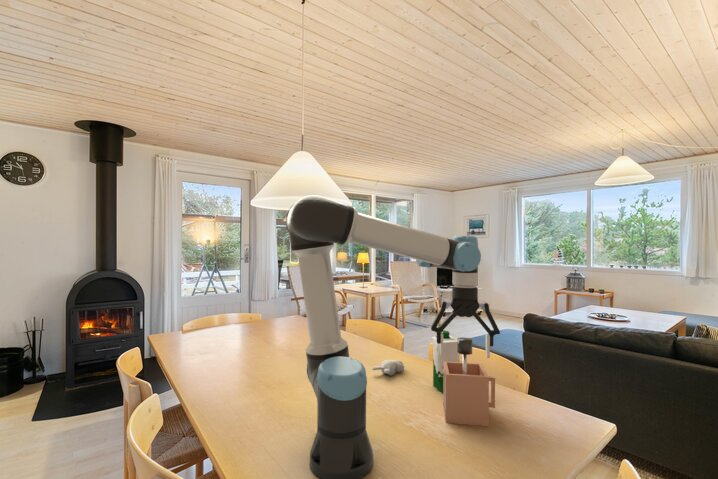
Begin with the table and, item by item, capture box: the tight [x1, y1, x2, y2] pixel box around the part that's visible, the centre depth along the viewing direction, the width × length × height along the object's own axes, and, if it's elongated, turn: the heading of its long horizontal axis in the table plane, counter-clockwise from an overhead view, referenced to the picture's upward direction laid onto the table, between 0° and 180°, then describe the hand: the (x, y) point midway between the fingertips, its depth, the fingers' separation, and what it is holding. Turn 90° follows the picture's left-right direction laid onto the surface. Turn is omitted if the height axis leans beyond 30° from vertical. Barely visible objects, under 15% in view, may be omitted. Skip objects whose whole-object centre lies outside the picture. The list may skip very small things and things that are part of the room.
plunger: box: [457, 337, 473, 375], centre depth 110 cm, size 9×9×22 cm
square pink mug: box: [442, 361, 496, 427], centre depth 110 cm, size 12×15×14 cm
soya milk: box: [431, 330, 461, 394], centre depth 130 cm, size 9×9×20 cm
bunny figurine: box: [371, 359, 405, 377], centre depth 145 cm, size 10×5×15 cm
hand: (464, 355), depth 110 cm, fingers open, 13 cm apart
